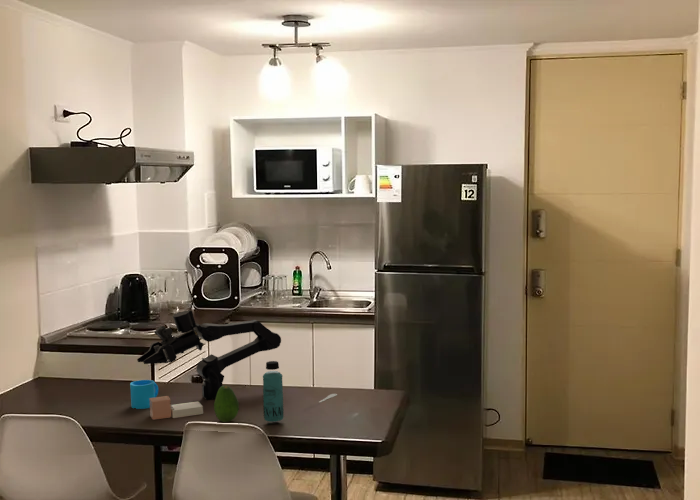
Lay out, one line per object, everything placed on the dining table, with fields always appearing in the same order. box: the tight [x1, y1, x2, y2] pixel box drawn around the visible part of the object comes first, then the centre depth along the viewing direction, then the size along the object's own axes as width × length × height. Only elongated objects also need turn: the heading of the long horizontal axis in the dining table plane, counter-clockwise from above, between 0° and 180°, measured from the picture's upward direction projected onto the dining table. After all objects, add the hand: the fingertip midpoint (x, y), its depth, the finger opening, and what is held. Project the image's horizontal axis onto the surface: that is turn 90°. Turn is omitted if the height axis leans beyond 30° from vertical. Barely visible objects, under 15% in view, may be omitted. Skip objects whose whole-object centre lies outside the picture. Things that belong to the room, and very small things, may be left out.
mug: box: [129, 379, 160, 410], centre depth 281 cm, size 12×8×8 cm
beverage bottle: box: [262, 360, 285, 423], centre depth 254 cm, size 6×7×20 cm
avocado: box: [213, 384, 240, 423], centre depth 258 cm, size 8×8×12 cm
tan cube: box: [149, 395, 172, 420], centre depth 265 cm, size 6×5×6 cm
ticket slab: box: [171, 401, 204, 419], centre depth 269 cm, size 10×7×3 cm
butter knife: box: [318, 393, 338, 403], centre depth 277 cm, size 1×24×3 cm
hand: (140, 361), depth 274 cm, fingers open, 9 cm apart
